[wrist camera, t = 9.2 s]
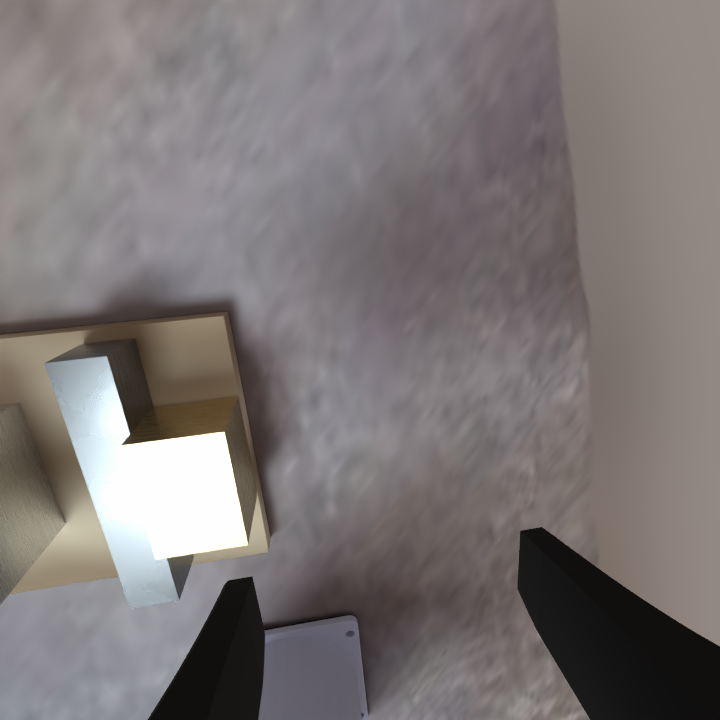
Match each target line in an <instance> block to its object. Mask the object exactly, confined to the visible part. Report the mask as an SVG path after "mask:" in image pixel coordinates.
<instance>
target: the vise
mask: <svg viewBox="0 0 720 720" xmlns="http://www.w3.org/2000/svg"><path fill="white" fill-rule="evenodd" d="M132 338H135V340H136V343H137V347H138V351H139V355H140V358H141V362H142V366H143V370H144V373H145V377H146V381H147V384H148V388H149V392H150V396H151V399H152V403H153V407H157V406H165V405H173V404H181V403H190V402H198V401H206V400H214V399H222V398H230V397H239V402H240V407H241V412H242V418H243V423H244V428H245V433H246V438H247V444H248V449H249V454H250V459H251V464H252V470H253V475H254V480H255V485H256V490H257V499H256V504H255V510H254V515H253V521H252V527H251V532H250V538H249V543H248V545H245V546H239V547H233V548H227V549H220V550H214V551H208V552H201V553H195V554H193V556H194V558H193V561H192V564H199V563H205V562H211V561H217V560H223V559H230V558H236V557H242V556H248V555H254V554H261V553H267V552H269V547H270V532H269V527H268V522H267V516H266V511H265V506H264V500H263V495H262V490H261V484H260V479H259V474H258V468H257V463H256V458H255V452H254V447H253V442H252V436H251V431H250V426H249V421H248V415H247V410H246V405H245V399H244V394H243V389H242V383H241V378H240V373H239V367H238V362H237V357H236V351H235V346H234V341H233V335H232V330H231V325H230V319H229V314H228V311H224V312H215V313H205V314H195V315H186V316H176V317H166V318H156V319H147V320H137V321H127V322H117V323H108V324H98V325H88V326H79V327H69V328H59V329H49V330H40V331H30V332H20V333H11V334H1V335H0V404H8V403H16V402H20V404H21V407H22V409H23V412H24V415H25V417H26V420H27V422H28V425H29V428H30V430H31V433H32V435H33V438H34V441H35V443H36V446H37V448H38V451H39V454H40V456H41V459H42V462H43V464H44V467H45V469H46V472H47V475H48V477H49V480H50V482H51V485H52V488H53V490H54V493H55V495H56V498H57V501H58V503H59V506H60V509H61V511H62V514H63V516H64V519H65V522H66V524H65V526H64V527H63V528H62V529H61V531H60V532H59V533H58V534H57V536H56V537H55V538H54V539H53V540H52V542H51V543H50V544H49V545H48V547H47V548H46V549H45V550H44V552H43V553H42V554H41V555H40V557H39V558H38V559H37V560H36V561H35V563H34V564H33V565H32V566H31V568H30V569H29V570H28V571H27V573H26V574H25V575H24V576H23V577H22V579H21V580H20V581H19V582H18V584H17V585H16V586H15V587H14V589H13V590H12V591H11V592H10V594H13V593H19V592H25V591H31V590H37V589H44V588H50V587H56V586H62V585H68V584H75V583H81V582H87V581H93V580H99V579H106V578H112V577H118V576H119V575H118V572H117V569H116V567H115V564H114V561H113V558H112V555H111V552H110V549H109V547H108V544H107V541H106V538H105V535H104V532H103V529H102V527H101V524H100V521H99V518H98V515H97V512H96V509H95V507H94V504H93V501H92V498H91V495H90V492H89V489H88V487H87V484H86V481H85V478H84V475H83V472H82V469H81V467H80V464H79V461H78V458H77V455H76V452H75V449H74V447H73V444H72V441H71V438H70V435H69V432H68V429H67V427H66V424H65V421H64V418H63V415H62V412H61V409H60V407H59V404H58V401H57V398H56V395H55V392H54V389H53V387H52V384H51V381H50V378H49V375H48V372H47V369H46V367H45V364H44V363H46V362H48V361H49V360H51V359H53V358H55V357H57V356H59V355H61V354H63V353H65V352H67V351H69V350H71V349H73V348H75V347H77V346H79V345H81V344H85V343H95V342H104V341H113V340H123V339H132ZM192 564H191V565H192Z"/></svg>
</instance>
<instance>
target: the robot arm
mask: <svg viewBox="0 0 720 720" xmlns="http://www.w3.org/2000/svg"><path fill="white" fill-rule="evenodd" d="M518 591H519V593H520V595H521V597H522V600H523V602H524V604H525V606H526V608H527V611H528V613H529V615H530V617H531V619H532V621H533V623H534V625H535V627H536V629H537V631H538V633H539V635H540V636H541V638H542V640H543V641H544V643H545V645H546V646H547V648H548V650H549V652H550V653H551V655H552V657H553V658H554V660H555V662H556V663H557V665H558V667H559V668H560V670H561V672H562V673H563V675H564V677H565V678H566V680H567V682H568V683H569V685H570V687H571V688H572V690H573V692H574V693H575V695H576V697H577V698H578V700H579V702H580V703H581V705H582V707H583V708H584V710H585V711H586V713H587V715H588V716H589V718H590V720H720V646H718V645H716V644H714V643H713V642H711V641H709V640H708V639H705V638H704V637H702V636H700V635H699V634H697V633H695V632H694V631H692V630H690V629H688V628H687V627H685V626H684V625H682V624H680V623H679V622H677V621H676V620H674V619H672V618H671V617H669V616H668V615H666V614H665V613H663V612H662V611H660V610H658V609H657V608H655V607H654V606H652V605H651V604H649V603H648V602H646V601H644V600H643V599H641V598H640V597H638V596H637V595H636V594H634V593H633V592H631V591H630V590H628V589H626V588H625V587H623V586H622V585H621V584H619V583H618V582H617V581H615V580H614V579H612V578H611V577H609V576H608V575H607V574H605V573H604V572H602V571H601V570H600V569H598V568H597V567H595V566H594V565H593V564H591V563H590V562H589V561H587V560H586V559H585V558H583V557H582V556H580V555H579V554H578V553H576V552H575V551H574V550H572V549H571V548H570V547H568V546H567V545H565V544H564V543H563V542H561V541H560V540H559V539H557V538H556V537H555V536H553V535H552V534H551V533H549V532H548V531H546V530H545V529H544V528H542V527H540V528H534V529H529V530H523V531H520V550H519V570H518ZM148 720H368V711H367V702H366V693H365V684H364V675H363V666H362V657H361V648H360V639H359V630H358V622H357V618H356V617H354V616H352V615H347V616H342V617H336V618H331V619H325V620H320V621H314V622H309V623H303V624H297V625H292V626H286V627H281V628H275V629H270V630H264V627H263V623H262V618H261V613H260V609H259V604H258V600H257V595H256V591H255V586H254V582H253V577H247V578H241V579H235V580H229V581H227V583H226V584H225V585H224V587H223V589H222V591H221V593H220V595H219V597H218V599H217V601H216V603H215V605H214V607H213V609H212V611H211V613H210V615H209V617H208V618H207V620H206V622H205V624H204V626H203V628H202V630H201V631H200V633H199V635H198V637H197V639H196V641H195V642H194V644H193V646H192V648H191V649H190V651H189V653H188V655H187V656H186V658H185V660H184V662H183V663H182V665H181V667H180V669H179V670H178V672H177V674H176V675H175V677H174V679H173V680H172V682H171V683H170V685H169V687H168V688H167V690H166V691H165V693H164V695H163V696H162V698H161V699H160V701H159V703H158V704H157V706H156V707H155V709H154V711H153V712H152V714H151V715H150V717H149V719H148Z"/></svg>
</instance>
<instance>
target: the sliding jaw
mask: <svg viewBox="0 0 720 720" xmlns="http://www.w3.org/2000/svg"><path fill="white" fill-rule="evenodd" d="M44 364H45V367H46V369H47V372H48V375H49V378H50V381H51V384H52V387H53V389H54V392H55V395H56V398H57V401H58V404H59V407H60V409H61V412H62V415H63V418H64V421H65V424H66V427H67V429H68V432H69V435H70V438H71V441H72V444H73V447H74V449H75V452H76V455H77V458H78V461H79V464H80V467H81V469H82V472H83V475H84V478H85V481H86V484H87V487H88V489H89V492H90V495H91V498H92V501H93V504H94V507H95V509H96V512H97V515H98V518H99V521H100V524H101V527H102V529H103V532H104V535H105V538H106V541H107V544H108V547H109V549H110V552H111V555H112V558H113V561H114V564H115V567H116V569H117V572H118V575H119V578H120V581H121V584H122V587H123V589H124V592H125V595H126V598H127V601H128V604H129V607H130V609H132V608H138V607H144V606H150V605H156V604H162V603H168V602H174V601H179V600H180V597H181V594H182V591H183V588H184V585H185V582H186V579H187V576H188V573H189V570H190V567H191V564H192V561H193V558H194V556H193V554H195V553H201V552H208V551H214V550H220V549H227V548H233V547H239V546H245V545H248V543H249V538H250V532H251V527H252V521H253V515H254V510H255V504H256V499H257V490H256V485H255V480H254V475H253V470H252V464H251V459H250V454H249V449H248V444H247V438H246V433H245V428H244V423H243V418H242V412H241V407H240V402H239V397H230V398H222V399H214V400H206V401H198V402H190V403H181V404H173V405H165V406H157V407H153V403H152V399H151V396H150V392H149V388H148V384H147V381H146V377H145V373H144V370H143V366H142V362H141V358H140V355H139V351H138V347H137V343H136V340H135V338H132V339H123V340H113V341H104V342H95V343H85V344H81V345H79V346H77V347H75V348H73V349H71V350H69V351H67V352H65V353H63V354H61V355H59V356H57V357H55V358H53V359H51V360H49V361H48V362H46V363H44Z"/></svg>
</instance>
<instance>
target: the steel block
mask: <svg viewBox="0 0 720 720" xmlns="http://www.w3.org/2000/svg"><path fill="white" fill-rule="evenodd" d="M65 524H66V522H65V519H64V516H63V514H62V511H61V509H60V506H59V503H58V501H57V498H56V495H55V493H54V490H53V488H52V485H51V482H50V480H49V477H48V475H47V472H46V469H45V467H44V464H43V462H42V459H41V456H40V454H39V451H38V448H37V446H36V443H35V441H34V438H33V435H32V433H31V430H30V428H29V425H28V422H27V420H26V417H25V415H24V412H23V409H22V407H21V404H20V402H16V403H8V404H0V605H1V603H2V602H3V601H4V600H5V598H6V597H7V596H8V595H9V594H10V592H11V591H12V590H13V589H14V587H15V586H16V585H17V584H18V582H19V581H20V580H21V579H22V577H23V576H24V575H25V574H26V573H27V571H28V570H29V569H30V568H31V566H32V565H33V564H34V563H35V561H36V560H37V559H38V558H39V557H40V555H41V554H42V553H43V552H44V550H45V549H46V548H47V547H48V545H49V544H50V543H51V542H52V540H53V539H54V538H55V537H56V536H57V534H58V533H59V532H60V531H61V529H62V528H63V527H64V526H65Z"/></svg>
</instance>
